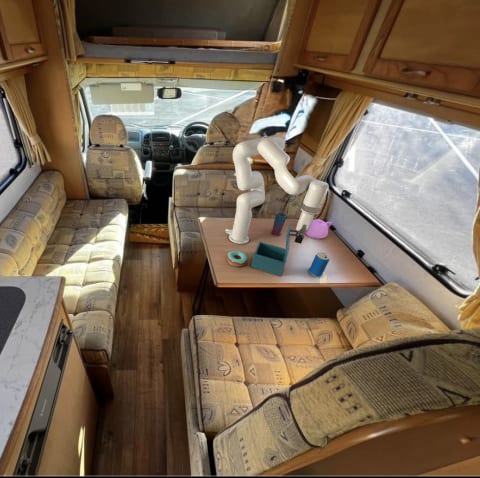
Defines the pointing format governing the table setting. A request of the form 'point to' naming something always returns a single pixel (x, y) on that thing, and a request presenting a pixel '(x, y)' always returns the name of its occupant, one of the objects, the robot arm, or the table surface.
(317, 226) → the teapot
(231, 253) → the donut
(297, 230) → the cool box lid
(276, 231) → the cup
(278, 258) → the cool box
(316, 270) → the beverage can
